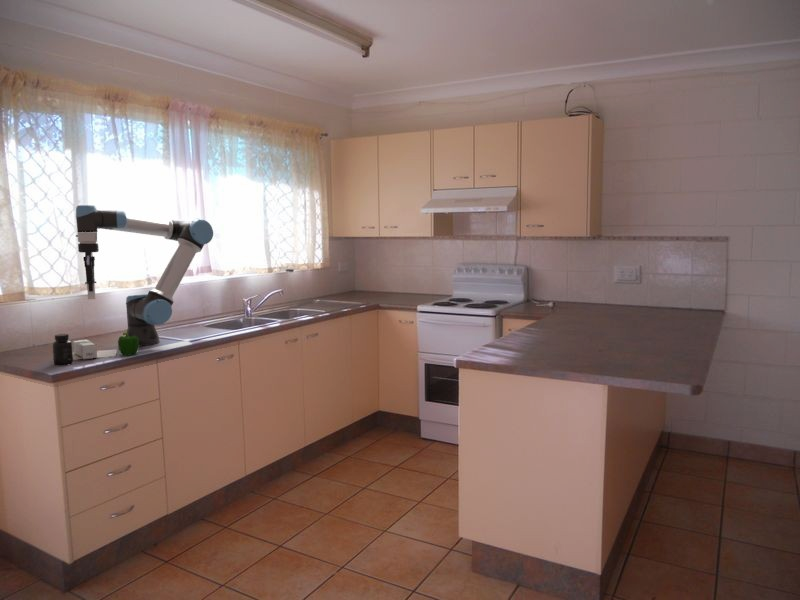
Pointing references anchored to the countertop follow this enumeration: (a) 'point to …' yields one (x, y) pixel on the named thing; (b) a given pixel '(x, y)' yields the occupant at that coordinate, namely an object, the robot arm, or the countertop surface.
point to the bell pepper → (128, 344)
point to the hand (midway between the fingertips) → (91, 298)
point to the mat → (101, 354)
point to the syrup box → (85, 349)
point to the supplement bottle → (62, 350)
